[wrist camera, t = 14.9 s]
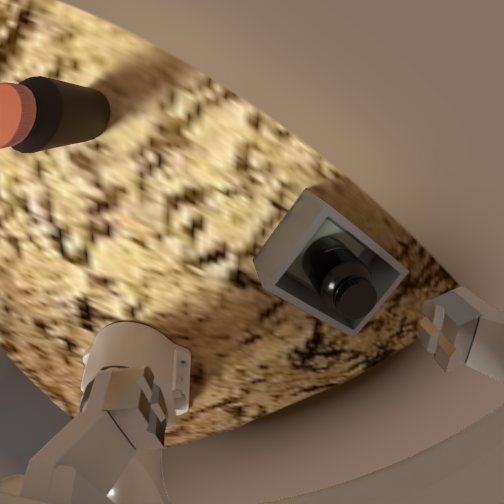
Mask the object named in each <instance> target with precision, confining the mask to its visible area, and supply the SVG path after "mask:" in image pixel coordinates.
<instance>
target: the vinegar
mask: <svg viewBox="0 0 504 504" xmlns="http://www.w3.org/2000/svg"><path fill="white" fill-rule="evenodd" d="M109 119H110V106H109V102H108V101H107V99H106V97H105V96H104V95H103V94H102V93H101V92H99V91H96V90H93V89H90V88H86V87H83V86H79V85H75V84H71V83H67V82H63V81H59V80H55V79H51V78H46V77H42V76H38V77H30V78H28V79H26V80H24V81H22V82H20V83H19V84H14V83H0V148H5V147H10V146H11V147H12V148H13V149H14V150H17V151H19V152H22V153H34V152H38V151H43V150H47V149H51V148H56V147H60V146H65V145H70V144H75V143H80V142H85V141H89V140H92V139H94V138H96V137H97V136H99V135H100V134H101V133H102V132H103V131H104V129H105V128H106V126H107V124H108V122H109Z"/></svg>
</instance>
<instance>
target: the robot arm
mask: <svg viewBox="0 0 504 504" xmlns="http://www.w3.org/2000/svg"><path fill="white" fill-rule="evenodd" d="M422 313H423V315H424V318H423V319H422V321H421V322H420V325H419V337H420V341H421V343H422V345H423V347H424V348H425V349H426V350H427V351H428V352H431V353H434V354H435V357H434V358H435V361H436V362H437V363H438V365H439V366H440V367H441V368H442V369H443V371H444V372H445V373H446V372H448V371H451V370H453V369H455V368H457V367H460V366H462V365H464V364H466V365H467V366H469V367H471V368H473V369H475V370H477V371H479V372H481V373H483V374H486V375H488V376H490V377H492V378H494V379H496V380H498V381H500V382H503V383H504V311H503V310H499V309H496V310H493V309H492V308H491V307H489V306H488V305H487V304H486V303H484V302H483V301H482V300H481V299H479V298H478V297H477V296H475V295H474V294H473V293H472V292H470V291H469V290H468V289H466V288H464V287H459V288H456V289H454V290H451V291H449V292H447V293H444V294H442V295H439V296H436V297H433V298H431V299H428V300H425V302H424V304H423V306H422ZM183 361H184V362H183ZM83 362H84V364H85V365H86V367H85V371H84V375H83V380H82V384H81V389H82V391H83V392H84V393H83V395H82V398H81V403H80V404H81V405H80V413H79V414H78V415H77V416H76V417H75V418H74V419H72V420H71V422H69V423H68V424H67V425H66V426H65V427H64V428H63V429H62V430H61V431H60V432H59V433H58V434H57V435H56V436H55V437H54V438H52V440H50V441H49V442H48V443H47V444H46V445H45V446H44V447H43V448H42V449H41V450H40V451H39V452H38V453H36V455H34V456H33V457H32V458H31V459H30V460H29V464H28V467H27V470H26V474H25V477H24V476H21V475H16V476H11V477H8V478H5V479H3V480H1V481H0V504H171V502H170V499H169V497H168V494H167V491H166V488H165V485H164V480H163V475H162V448H164V441H165V430H166V429H168V428H171V427H173V426H174V425H175V424H176V420H177V415H180V414H183V413H185V412H187V411H188V409H189V395H190V371H191V352H190V351H189V350H188V349H186V348H184V347H182V346H179V345H176V344H174V343H173V342H171V341H170V340H169V339H168V338H167V337H165V336H164V335H163V334H162V333H160V332H159V331H157V330H155V329H153V328H151V327H149V326H146V325H143V324H140V323H134V322H119V323H114V324H111V325H108V326H106V327H105V328H103V329H102V330H101V331H100V332H99V333H98V334H97V336H96V337H95V340H94V343H93V345H92V347H91V348H90V349H89V350H88V351H86V352H85V353H84V355H83ZM260 504H504V404H502V405H501V406H499V407H498V408H496V409H495V410H493V411H492V412H490V413H489V414H487V415H486V416H484V417H483V418H481V419H479V420H478V421H476V422H475V423H473V424H471V425H470V426H468V427H466V428H465V429H463V430H461V431H460V432H458V433H456V434H454V435H452V436H450V437H449V438H447V439H445V440H443V441H441V442H439V443H437V444H435V445H433V446H431V447H430V448H427V449H425V450H424V451H421V452H419V453H418V454H415V455H413V456H411V457H408V458H406V459H404V460H402V461H399V462H397V463H395V464H392V465H390V466H388V467H385V468H383V469H380V470H377V471H375V472H372V473H370V474H367V475H365V476H361V477H359V478H356V479H353V480H350V481H347V482H344V483H341V484H337V485H334V486H331V487H328V488H325V489H321V490H317V491H314V492H310V493H306V494H302V495H298V496H294V497H290V498H285V499H280V500H275V501H270V502H265V503H260Z"/></svg>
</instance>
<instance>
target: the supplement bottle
mask: <svg viewBox="0 0 504 504" xmlns="http://www.w3.org/2000/svg"><path fill="white" fill-rule="evenodd" d="M303 269H304V271H305V273H306V275H307V277H308V278H309V280H310V282H311V283H312V285H313V287H314V288H315V290H316V292H317V293H318V295H319V297H320V298H321V300H322V301H323V303H324V304H325V305H326V306H327V307H329V308H330V309H332V310H336V311H339V312H340V314H341V315H342V316H343V317H344V318H347V319H350V320H356V319H360V318H362V317H365V316H366V315H367V314H369V312H371V311H372V309H373V308H374V306H375V305H376V302H377V293H376V292H377V291H376V289H375V287H374V286H373V285H372V276H371V273H370V271H369V269H368V267H367V266H366V265H365V264H364V263H363V262H362V261H361V260H360V259H359V258H358V257H357V256H356V255H355V254H354V253H353V252H352V251H351V250H350V249H349V248H348V247H347V246H346V245H345V244H344V243H342V242H341V241H340V240H338V239H336V238H332V237H325V238H321V239H318V240H316V241H315V242H313V243H312V244H311V245H310V246H309V247H308V248H307V250H306V252H305V254H304V257H303Z"/></svg>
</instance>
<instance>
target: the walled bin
mask: <svg viewBox="0 0 504 504" xmlns="http://www.w3.org/2000/svg"><path fill="white" fill-rule="evenodd" d="M325 237H332V238H336V239H338V240H340V241H341V242H342V243H344V244H345V245H346V246H347V247H348V248H349V249H350V250H351V251H352V252H353V253H354V254H355V255H356V256H357V257H358V258H359V259H360V260H361V261H362V262H363V263H364V264H365V265H366V266H367V267H368V269H369V271H370V273H371V276H372V285H373V286H374V287H375V289H376V291H377V292H376V293H377V302H376V305H375V306H374V308H373V309H372V311H371V312H369V314H367V315H366V316H365V317H362V318H360V319H356V320H350V319H347V318H344V317H343V316H342V315H341V314H340V312H339V311H336V310H332V309H330V308H329V307H327V306H326V305H325V304H324V303H323V301H322V300H321V298H320V297H319V295H318V293H317V292H316V290H315V288H314V287H313V285H312V283H311V282H310V280H309V278H308V277H307V275H306V273H305V271H304V269H303V257H304V254H305V252H306V250H307V248H308V247H309V246H310V245H311V244H312V243H313V242H315V241H316V240H318V239H321V238H325ZM253 262H254V265H255V268H256V270H257V273H258V276H259V279H260V282H261V284H262V287H263V288H264V289H266V290H267V291H269V292H271V293H273V294H274V295H276V296H278V297H280V298H282V299H283V300H285V301H287V302H289V303H290V304H292V305H294V306H296V307H298V308H299V309H301V310H303V311H305V312H307V313H308V314H310V315H312V316H314V317H316V318H318V319H319V320H321V321H323V322H325V323H327V324H328V325H330V326H332V327H334V328H336V329H338V330H339V331H341V332H343V333H345V334H347V335H349V336H351V337H352V338H354V337H355V336H356V335H357V334H358V333H359V331H360V330H361V329H362V328H363V327H364V326H365V325H366V323H367V322H368V321H369V320H370V319H371V318H372V316H373V315H374V314H375V313H376V312H377V311H378V309H379V308H380V307H381V306H382V305H383V303H384V302H385V301H386V300H387V299H388V297H389V296H390V295H391V294H392V292H393V291H394V290H395V289H396V287H397V286H398V285H399V284H400V282H401V281H402V280H403V279H404V277H405V276H406V275H407V273H408V272H409V271H408V270H407V269H406V268H405V267H404V266H403V265H401V264H400V263H399V262H398V261H397V260H396V259H395V258H393V257H392V256H391V255H390V254H389V253H388V252H386V251H385V250H384V249H383V248H382V247H380V246H379V245H378V244H377V243H376V242H375V241H373V240H372V239H371V238H370V237H369V236H367V235H366V234H365V233H364V232H362V231H361V230H360V229H359V228H358V227H356V226H355V225H354V224H353V223H351V222H350V221H349V220H348V219H346V218H345V217H344V216H343V215H341V214H340V213H339V212H338V211H336V210H335V209H334V208H333V207H331V206H330V205H329V204H327V203H326V202H325V201H323V200H322V199H320V198H319V197H317V196H316V195H314V194H313V193H311V192H310V191H308V190H307V189H305V190H304V191H303V192H302V194H301V195H300V197H299V198H298V199H297V201H296V202H295V203H294V205H293V206H292V207H291V209H290V210H289V211H288V213H287V214H286V216H285V217H284V218H283V220H282V221H281V222H280V224H279V225H278V226H277V228H276V229H275V230H274V232H273V233H272V234H271V236H270V237H269V239H268V240H267V241H266V243H265V244H264V245H263V247H262V248H261V249H260V251H259V252H258V253H257V255H256V256H255V257H254V259H253Z"/></svg>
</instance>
